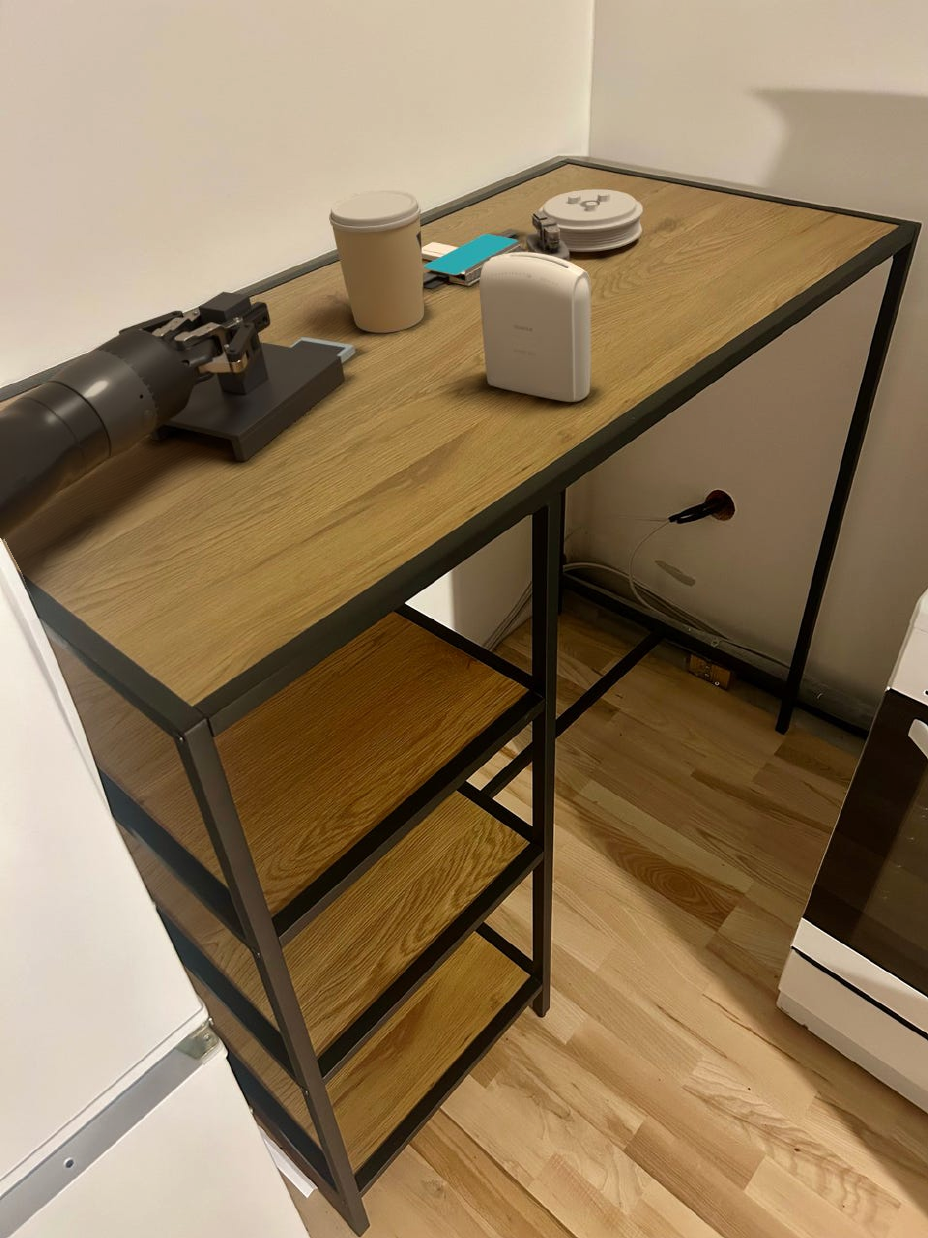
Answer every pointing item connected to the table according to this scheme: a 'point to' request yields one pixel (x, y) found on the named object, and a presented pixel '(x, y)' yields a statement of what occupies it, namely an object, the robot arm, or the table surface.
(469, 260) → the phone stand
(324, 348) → the phone
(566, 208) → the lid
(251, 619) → the table surface
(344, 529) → the table surface
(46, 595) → the table surface
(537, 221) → the lighter
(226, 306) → the cover
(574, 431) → the table surface
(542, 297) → the photo printer
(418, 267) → the coffee cup
